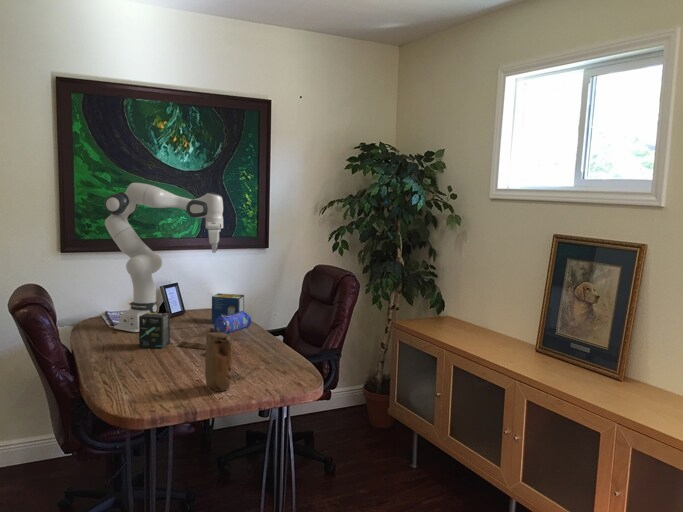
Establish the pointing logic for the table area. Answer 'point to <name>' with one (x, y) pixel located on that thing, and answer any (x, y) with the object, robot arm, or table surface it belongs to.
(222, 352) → the block
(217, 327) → the pencil case
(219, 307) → the protein box
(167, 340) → the tampon box
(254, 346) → the table surface
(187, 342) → the frame
